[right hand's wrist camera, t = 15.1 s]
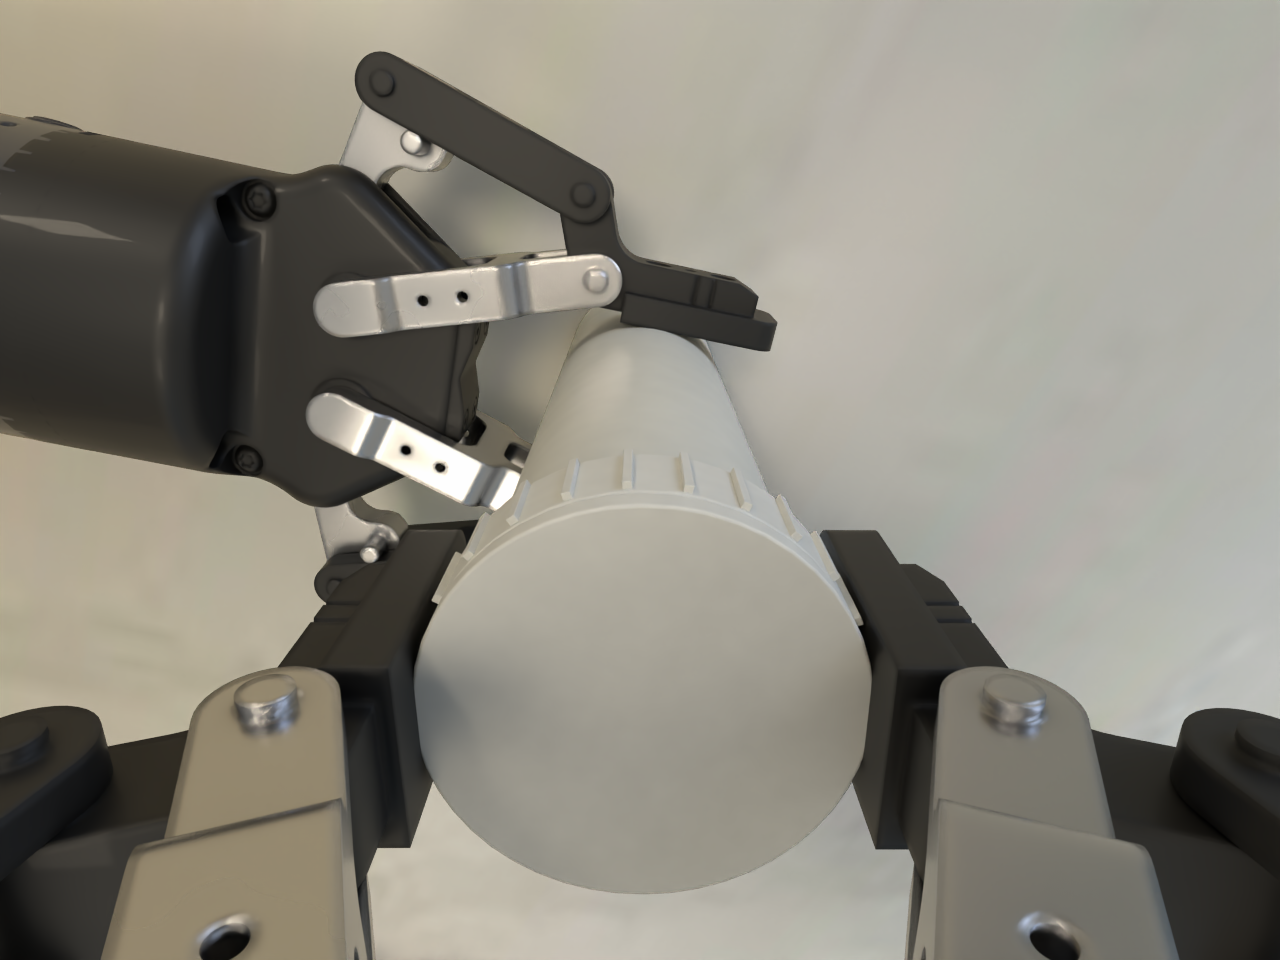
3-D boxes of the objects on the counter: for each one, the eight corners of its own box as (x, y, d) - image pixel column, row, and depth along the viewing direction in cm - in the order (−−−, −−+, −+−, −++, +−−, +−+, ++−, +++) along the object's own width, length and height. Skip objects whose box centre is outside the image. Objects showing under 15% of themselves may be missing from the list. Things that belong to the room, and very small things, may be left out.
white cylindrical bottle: (672, 439, 28) (730, 876, 11) (552, 389, 27) (404, 765, 10) (728, 321, 27) (900, 598, 9) (603, 265, 26) (533, 450, 9)
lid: (888, 474, 10) (935, 529, 8) (803, 822, 11) (828, 919, 10) (447, 421, 9) (411, 468, 8) (431, 784, 11) (398, 878, 10)
